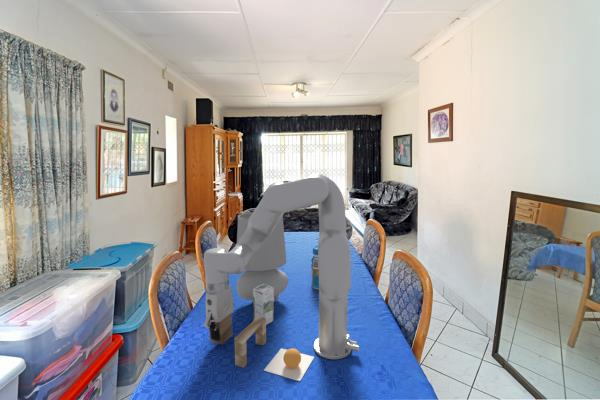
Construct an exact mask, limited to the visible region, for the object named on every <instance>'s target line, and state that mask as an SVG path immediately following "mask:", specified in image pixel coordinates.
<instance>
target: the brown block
mask: <svg viewBox="0 0 600 400" xmlns="http://www.w3.org/2000/svg"><path fill="white" fill-rule="evenodd" d="M231 315H232V314H229V315H228V316H227V317H226V318H224V319H223V320H222V321H221V322H219V323H218V329H219V337H220V340H219V341H216V340H212V339H211V333H210V329H209V328H208V332H209V341H210V342H211V343H216V344H219V345H223V344H224V343H225V342H226V341H227V340H229V339H230V338H231V337H232V336H233V322H232V320H233V319H232V318H231ZM213 325H214V326H215V322H213Z"/></svg>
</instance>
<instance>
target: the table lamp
mask: <svg viewBox="0 0 600 400" xmlns="http://www.w3.org/2000/svg"><path fill="white" fill-rule="evenodd" d="M253 212H254V211H249V212H244V213H242V214H241V213H240V214H239V215H238V216H237V229H236V230H237V231H236V232H237V233H236V244H237V243H238V241H239V240H240V238H241V236H242V235H243V233H244V232H245V230H246V228H247V226H248V221H249V218H250V217H251V215H252V214H253ZM285 238H286V237H285V228H284V215H283V216H282V217H281V219H280V220H279V222H278V223H277V225H276V226H275V228H274V229H273V231H272V232H271V234H270V235H269V236H268V237H266V239H265V240H264V241H263V243H262V244H261V246H260V247H259V249H258V250H257V252H256V254H255V255H254V257H253V258H252V260H251V261H250V263H249V265H248V266H247V268H246V269H245V271H244V272H242V273H241V275H240V276H239V278H238V279H237V281H236V293H237V295H238V296H239V297H240V298H242V299H243V300H247V301H251V302H252V303H253V288H255V287H257V286H259V285H262V284H267V285H269V286H271V287H273V288H274V302H278V301H279V297H280V295H281V294H282V293H283V292H285V290H286V289H287V287H288V284H289V277H288V274H286V273H285V272H283V271H282V270H280V269H279V268H281V267H283V266H285V265H286V264H287V262H288V261H287V251H286V241H285Z"/></svg>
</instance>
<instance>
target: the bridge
mask: <svg viewBox="0 0 600 400" xmlns="http://www.w3.org/2000/svg"><path fill="white" fill-rule="evenodd" d="M254 334H255V344H256V345H260V346H264V345H265V344H266V343H267V325H266V318H263V317H259V316H258V317H257V318H256V319H255V320H254V319H253V321H252V322H251V323H250V324H248V325H247V326H246V327H245V328H244V329H243V330H242V331H240V332H239V333H238V335H236V336H235V337H234V339H233V340H234V341H233V342H234V364H235V365H234V366H237V367H240V368H245V367H246V366H247V364H248V359H247V358H248V356H247V355H248V353H247V352H248V351H247V348H248V347H247V341H248V340H249V338H251V337H252V336H253V335H254Z"/></svg>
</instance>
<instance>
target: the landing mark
mask: <svg viewBox="0 0 600 400" xmlns="http://www.w3.org/2000/svg"><path fill="white" fill-rule="evenodd" d="M287 350H288V349H286V348H282V347H281V348H280V349H279V351H277V353H276V354H275V355H274V356H273V358H272V359H271V360H270V362H269V363H268V364H267V365H266V367H265V368H264V369H263V372H267V373H271V374H274V375H278V376H280V377H284V378H287V379H291V380H294V381H297V382H301V380H302V379H303V377H304V375H306V372H307V371H308V369H309V367H310V365H312V362H313V360H314V359H315V356H313V355H308V354H305V353H301V352H299V353H300V355H301V362H300V364H299V365H298V366H297V367H295V368H289V367H287V366H286V365H285V363H284V359H283V357H284V354H285V352H286V351H287Z"/></svg>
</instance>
